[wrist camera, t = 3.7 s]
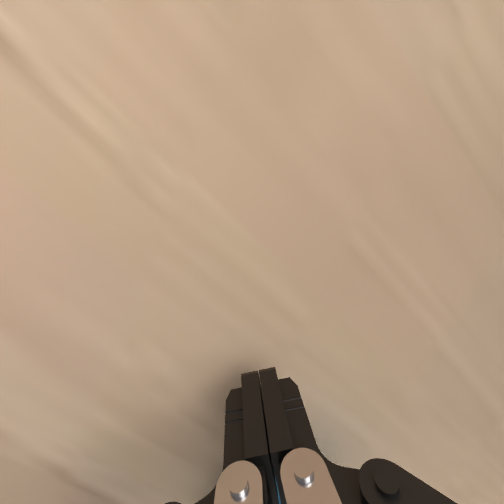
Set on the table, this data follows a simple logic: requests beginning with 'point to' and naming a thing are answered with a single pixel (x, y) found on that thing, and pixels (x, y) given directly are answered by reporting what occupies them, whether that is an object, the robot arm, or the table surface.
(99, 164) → the table surface
